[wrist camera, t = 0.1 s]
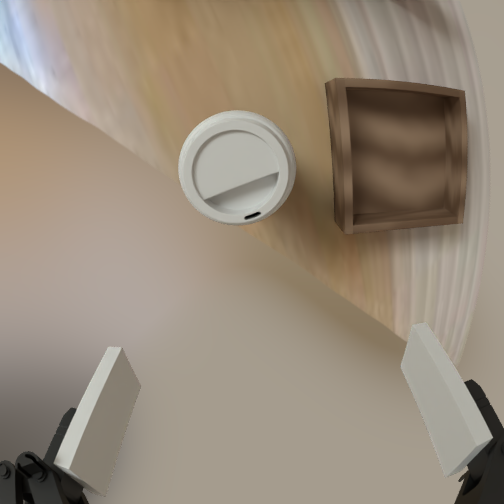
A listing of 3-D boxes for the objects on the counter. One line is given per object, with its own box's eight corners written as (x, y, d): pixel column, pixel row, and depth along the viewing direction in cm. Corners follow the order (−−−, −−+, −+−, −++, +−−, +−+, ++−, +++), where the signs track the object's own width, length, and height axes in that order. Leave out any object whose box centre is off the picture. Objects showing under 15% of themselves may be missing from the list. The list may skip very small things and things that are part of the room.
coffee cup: (204, 190, 37) (175, 232, 24) (203, 115, 33) (170, 111, 20) (280, 191, 37) (295, 235, 24) (283, 116, 33) (302, 111, 20)
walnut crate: (325, 83, 31) (335, 78, 27) (444, 91, 30) (464, 90, 26) (334, 220, 39) (345, 234, 34) (444, 211, 38) (462, 223, 33)
